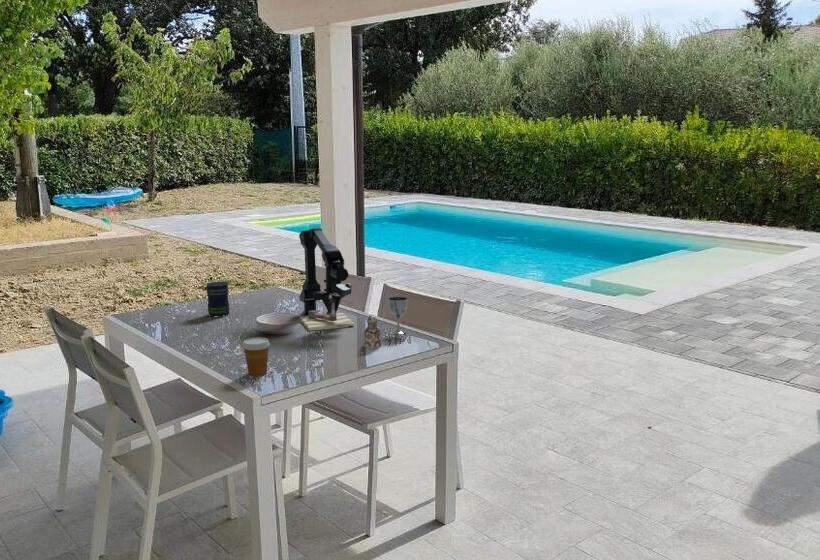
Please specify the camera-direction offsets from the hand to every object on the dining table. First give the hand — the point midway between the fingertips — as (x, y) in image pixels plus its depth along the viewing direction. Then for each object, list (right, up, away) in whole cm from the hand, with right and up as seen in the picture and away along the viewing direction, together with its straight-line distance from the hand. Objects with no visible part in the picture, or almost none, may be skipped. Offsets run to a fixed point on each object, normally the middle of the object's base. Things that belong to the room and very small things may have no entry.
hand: (332, 312), depth 333 cm
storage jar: (-56, -2, +23) cm, 60 cm away
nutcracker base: (-3, -5, +5) cm, 8 cm away
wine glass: (+29, -8, -12) cm, 33 cm away
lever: (-5, -3, +5) cm, 8 cm away
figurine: (+19, -12, -31) cm, 38 cm away
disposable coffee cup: (-20, -19, -64) cm, 70 cm away
